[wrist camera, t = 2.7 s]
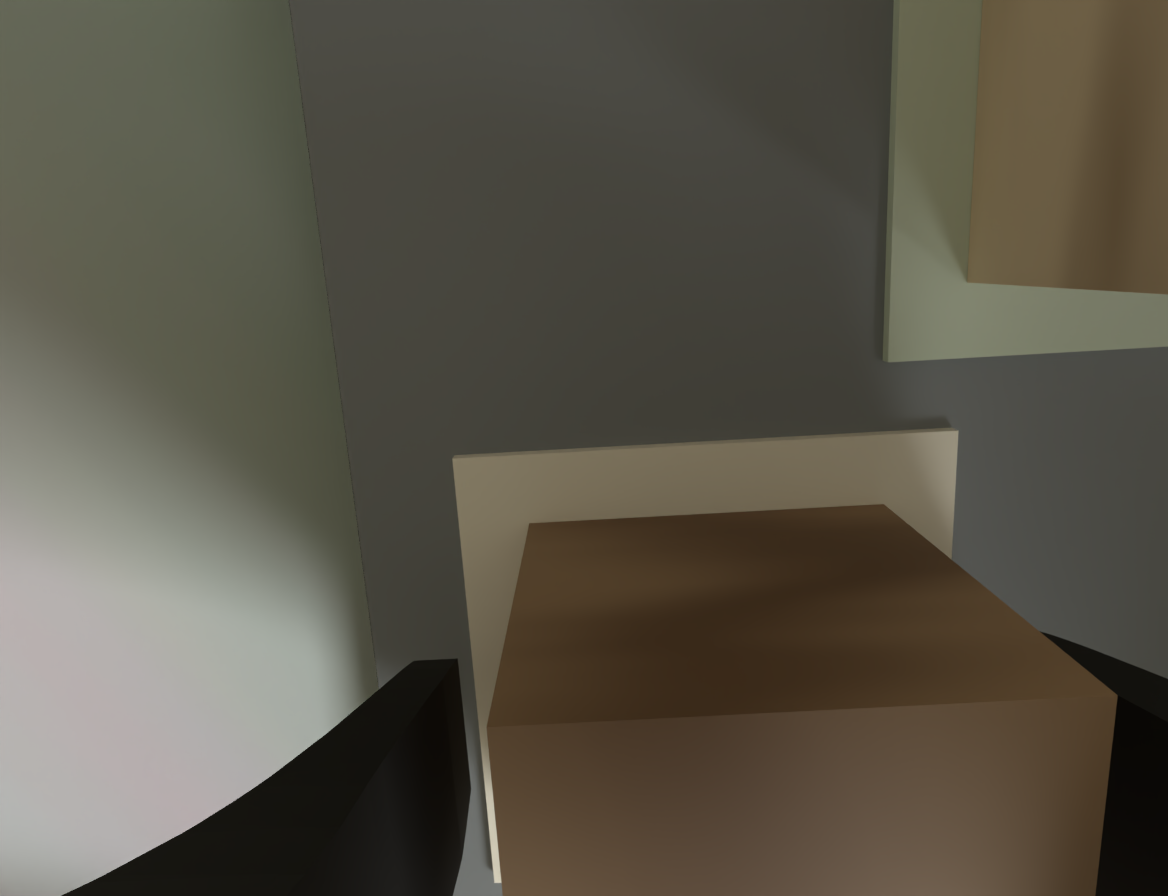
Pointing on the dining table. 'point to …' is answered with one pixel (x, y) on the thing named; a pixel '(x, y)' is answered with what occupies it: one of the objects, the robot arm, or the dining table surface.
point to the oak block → (1071, 146)
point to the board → (702, 312)
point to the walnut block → (785, 717)
